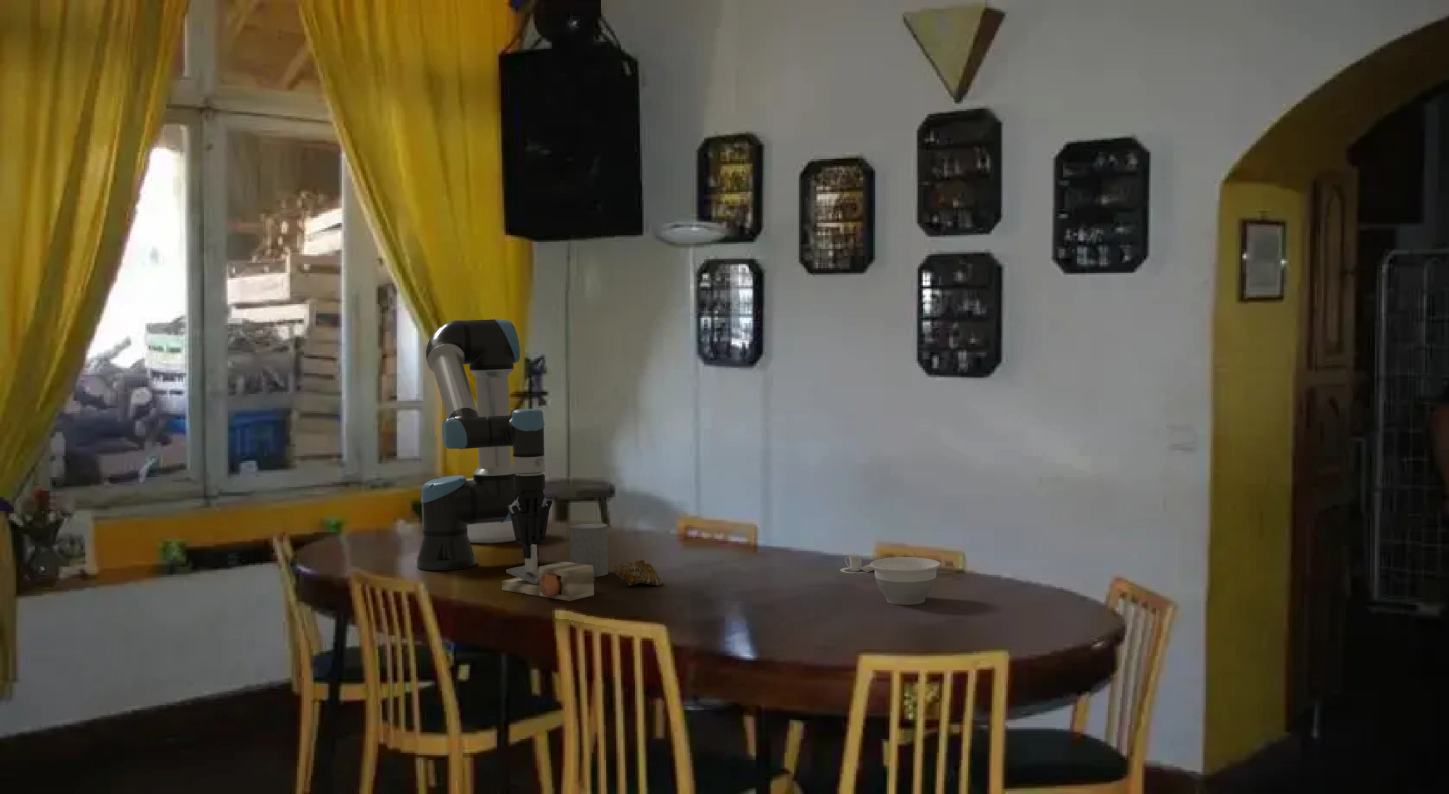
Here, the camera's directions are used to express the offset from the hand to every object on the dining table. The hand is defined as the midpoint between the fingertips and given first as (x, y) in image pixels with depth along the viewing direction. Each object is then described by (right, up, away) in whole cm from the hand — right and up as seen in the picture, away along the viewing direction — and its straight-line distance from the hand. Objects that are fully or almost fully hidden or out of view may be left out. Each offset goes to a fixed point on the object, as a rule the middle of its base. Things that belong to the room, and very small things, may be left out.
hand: (531, 571), depth 349 cm
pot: (-22, 0, +80) cm, 83 cm away
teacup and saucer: (+80, -3, +15) cm, 82 cm away
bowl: (+87, -4, -20) cm, 90 cm away
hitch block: (+4, -5, -3) cm, 7 cm away
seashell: (+25, -4, +4) cm, 26 cm away
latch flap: (0, -1, 0) cm, 1 cm away
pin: (+10, -4, -6) cm, 12 cm away
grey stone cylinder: (+12, -3, +20) cm, 24 cm away
